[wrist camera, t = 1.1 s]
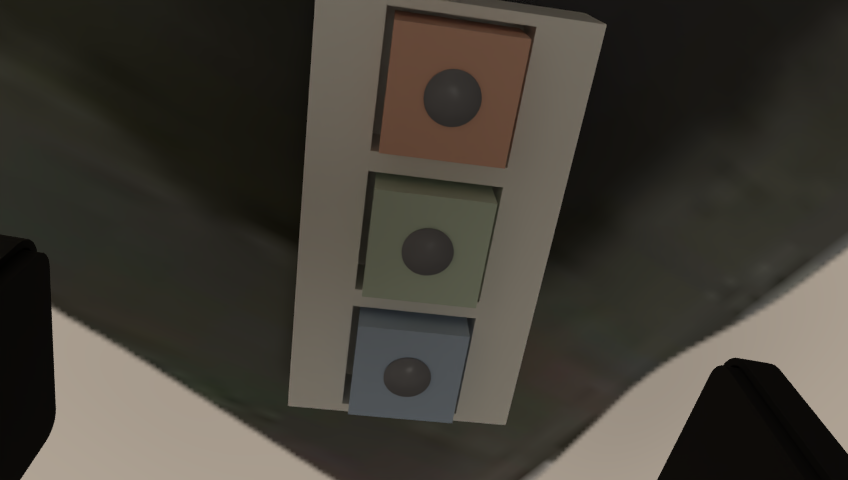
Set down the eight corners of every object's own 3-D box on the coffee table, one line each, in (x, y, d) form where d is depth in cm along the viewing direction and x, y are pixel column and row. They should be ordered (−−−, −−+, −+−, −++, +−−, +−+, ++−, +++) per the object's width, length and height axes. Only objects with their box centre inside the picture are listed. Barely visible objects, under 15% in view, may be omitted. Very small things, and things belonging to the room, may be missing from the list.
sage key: (489, 180, 27) (497, 205, 25) (470, 278, 29) (476, 309, 27) (376, 166, 26) (374, 190, 24) (364, 267, 28) (361, 297, 26)
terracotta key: (519, 28, 24) (532, 39, 22) (496, 147, 26) (505, 169, 24) (394, 10, 24) (394, 20, 22) (380, 132, 26) (378, 153, 24)
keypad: (584, 12, 26) (606, 24, 23) (496, 383, 33) (505, 425, 31) (325, -26, 25) (316, -19, 22) (297, 365, 33) (288, 406, 30)
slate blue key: (464, 306, 29) (470, 338, 27) (448, 388, 31) (452, 424, 29) (361, 295, 29) (358, 327, 27) (351, 379, 31) (347, 415, 29)
